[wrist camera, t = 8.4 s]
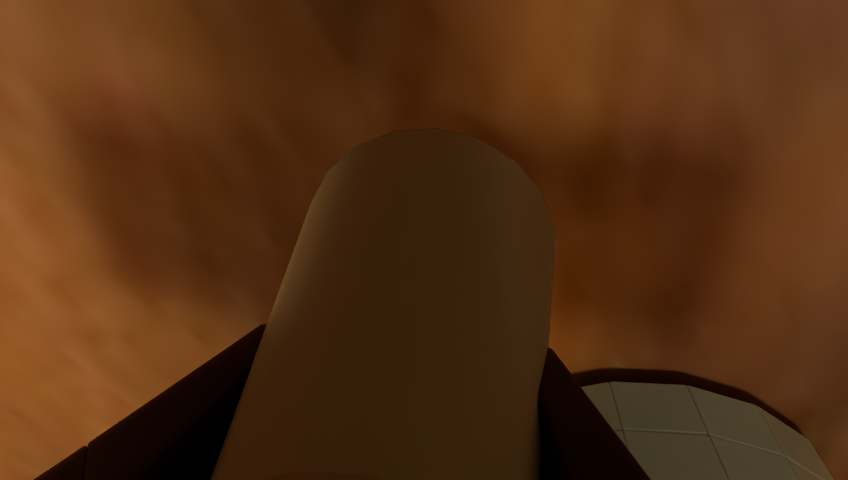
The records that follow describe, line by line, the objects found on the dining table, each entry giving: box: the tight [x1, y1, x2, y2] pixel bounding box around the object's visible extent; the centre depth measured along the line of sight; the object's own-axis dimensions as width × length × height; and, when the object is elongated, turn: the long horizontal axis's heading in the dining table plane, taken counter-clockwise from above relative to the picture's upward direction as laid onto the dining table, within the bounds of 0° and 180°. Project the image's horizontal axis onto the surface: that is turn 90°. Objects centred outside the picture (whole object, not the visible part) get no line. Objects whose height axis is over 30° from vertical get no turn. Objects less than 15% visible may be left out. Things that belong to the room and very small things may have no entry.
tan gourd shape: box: [210, 128, 554, 480], centre depth 8 cm, size 6×6×11 cm
